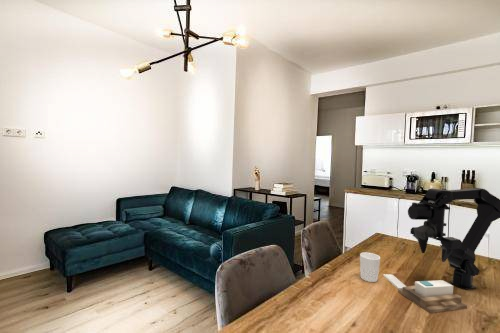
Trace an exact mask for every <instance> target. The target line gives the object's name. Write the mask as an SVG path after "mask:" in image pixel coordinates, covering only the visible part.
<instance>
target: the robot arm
mask: <svg viewBox="0 0 500 333" xmlns="http://www.w3.org/2000/svg"><path fill="white" fill-rule="evenodd" d="M460 200H461V201H462V200H473V202H474V203H475V204H476V205H477V207H476V214H477V215H476V218H475V219H474V221H473V223H472V224H471V227H470V228H469V229H468V231H467V233H466V235H465V236H464V238H463V239H462V240H461V239H460V238H455V237H452V236H447V237H446V233H445V232H444V229H445V228H444V227H447V223H445V214H446V213H445V212H446V210H447V211H449V210H451V207H450V206H448V205H447V204H450V203H452V202H454V201H460ZM407 214H408V217H409V219H411V220H416V221H417V220H419V221H420V220H421V221H424V222H423V225H420V226H417V227H416V226H414V227H413V226H412V228H410V234H411V235H412V237H414V238H415V239H416V240H417V242H418V245H419V248H420V252H421V253H422V254H425V253H426V250H427V247H428V243H429V239H432V240H433V239H434V240H436V241H439V242H440V245H439V247H440V249H441V262H442V263H445V262H446V261H447V262H448V263H449V267H450V268H452V269H453V274H452V276H453V277H452V280H449V284H451V285H452V284H453V286H456V287H459V288H460V289H463V290H472V289H477V286H475V285H473V279H474V277H476V276H479V274H480V272H481V270H480V269H479V268H478V266H477V265H475V262H476V253H475V252H476V250H477V249H478V247H479V245H480V243H481V242H482V240H483V237H484V236H485V235H486V233H487V231H488V230H489V228H490V226H491V224H492V223H493V222H495V221H497V220H498V219H500V198H499V197H497V196H495V195H493V194H492V193H490V192H489V191H488V190H487V189H485V188H481V187H473V188H463V189H441V188H428V189H427V191H426V192H425V193H424V195H423V197H422V198H421V199H420V201H419V202H415V201H414V202H412V203H411V205H409V208H408V209H407Z"/></svg>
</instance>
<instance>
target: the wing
mask: <svg viewBox="0 0 500 333" xmlns="http://www.w3.org/2000/svg"><path fill="white" fill-rule="evenodd" d="M383 277H384V278H385V279H386V280H387V281H388V282H390V284H392V286H394V287H395V288H396V289H397V290H398V289H403V287H407V285H406V284H404V283H403V282H402V281H401V280H400V279H398V278H397V277H396V276H395V275H394V274H390V273H389V274H387V273H386V274H385V273H383Z"/></svg>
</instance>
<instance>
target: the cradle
mask: <svg viewBox="0 0 500 333" xmlns="http://www.w3.org/2000/svg"><path fill="white" fill-rule="evenodd" d="M406 286H407V285H406ZM397 290H398V291H397V292H398V293H399V294H401V295H402V296H404V298H407V299H408V300H410V301H411V302H413V303H414V304H416V305H417V306H418V307H419V308H422V309H423V310H424V311H426V312H428V313H429V314H432V313H433V314H434V313H439V312H440V313H441V312H446V311H447V312H448V311H457V310H458V311H459V310H465V309H467V308H468V304H466V303H464V302H462V299H463V298H462V296H461V295H459V294H458V293H455V294H454V293H453V295H444V296H435V297H426V298H425V297H423V296H422V295H420V294H418V293H417V292H415V291H414V290H415V284H413V285H410V286H409V285H408V286H407V287H403V289H397Z"/></svg>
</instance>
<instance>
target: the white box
mask: <svg viewBox="0 0 500 333" xmlns="http://www.w3.org/2000/svg"><path fill="white" fill-rule="evenodd" d="M414 285H415V290H414V291H415V292H417V293H418V294H420V295H422V296H423V297H425V298H426V297H435V296H444V295H453V294H454V284H453V285H452V283H450V282H447V281H445V280H443V279H442V280H439V279H438V280H420V281H418V280H417V281H414Z"/></svg>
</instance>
